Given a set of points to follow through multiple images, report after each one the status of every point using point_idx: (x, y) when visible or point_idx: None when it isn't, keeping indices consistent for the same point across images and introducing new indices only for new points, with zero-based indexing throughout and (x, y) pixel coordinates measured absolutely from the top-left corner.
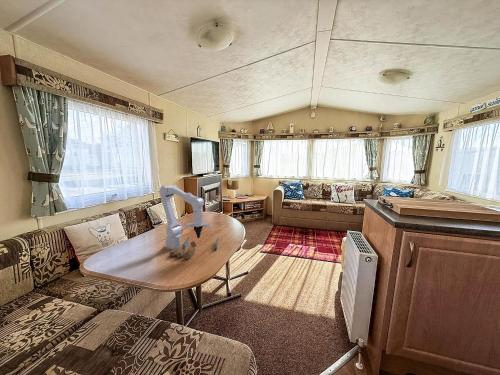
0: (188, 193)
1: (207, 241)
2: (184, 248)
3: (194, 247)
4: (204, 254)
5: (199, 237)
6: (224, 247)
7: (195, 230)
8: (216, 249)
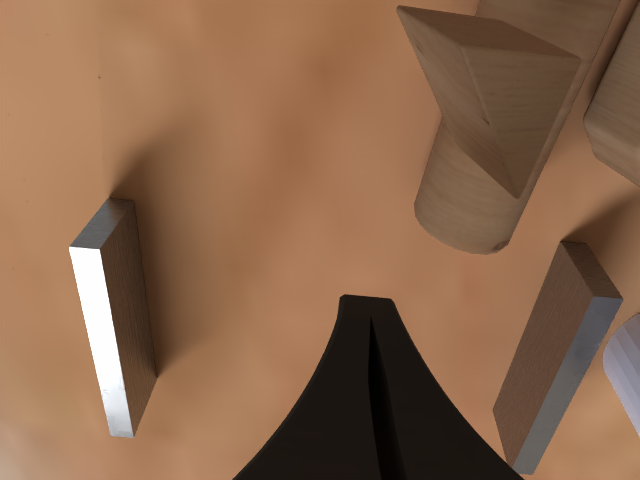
0: None
1: (278, 421)
2: (577, 259)
3: (432, 215)
4: (265, 91)
5: (339, 305)
6: (26, 267)
7: (479, 470)
8: (105, 206)
